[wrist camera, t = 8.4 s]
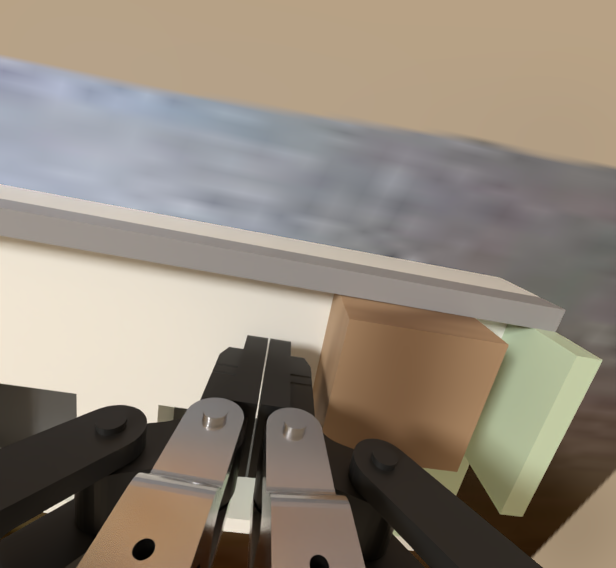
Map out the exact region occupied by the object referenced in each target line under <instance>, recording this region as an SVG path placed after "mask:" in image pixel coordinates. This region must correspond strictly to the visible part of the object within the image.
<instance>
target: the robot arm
mask: <svg viewBox="0 0 616 568" xmlns="http://www.w3.org/2000/svg"><path fill="white" fill-rule="evenodd" d="M267 344H268V338H264V337H258V336H251V335H247V338H246V342H245V345H244V349H240V348H234V347H228V348H227V349H226V350H224V351H223V352H221V353H220V354H219V356H218V359H217V361H216V364H215V366H214V368H213V371H212V373H211V375H210V378H209V380H208V383H207V385H206V387H205V390H204V392H203V394H202V397H201V399H200V400H199V401H197V402H195V403H194V404H192V405H191V406H190V407H189V408H188V409H187V411H186V412H185V414H184V416H183V417H181V418H178V419H175V420H171V421H165V422H156V423H147V418H146V416H145V414H144V413H143V412H142V411H141V410H139V409H137V408H135V407H132V406H127V405H112V406H107V407H102V408H99V409H97V410H94V411H92V412H89V413H87V414H84V415H82V416H79V417H77V418H74V419H72V420H69V421H67V422H64V423H62V424H59V425H57V426H54V427H52V428H49V429H47V430H45V431H42V432H40V433H37V434H35V435H32V436H30V437H27V438H25V439H22V440H20V441H17V442H15V443H12V444H10V445H7V446H5V447H2V448H0V539H1V538H2V537H3V536H4V535H5V534H7V533H8V532H9V531H11V530H12V529H14V528H15V527H17V526H19V525H21V524H23V523H24V522H26V521H28V520H30V519H31V518H33V517H35V516H37V515H38V514H40V513H42V512H44V511H46V510H47V509H49V508H51V507H53V506H54V505H56V504H58V503H60V502H62V501H63V500H65V499H67V498H69V497H70V496H72V495H74V499H72V500H70V501H69V502H67V503H65V504H63V505H62V506H60V507H58V508H56V509H55V510H53V511H51V512H49V513H48V514H46V515H44V516H42V517H41V518H39V519H37V520H35V521H34V522H32V523H30V524H28V525H27V526H25V527H23V528H21V529H20V530H18V531H16V532H14V533H13V534H11V535H9V536H7V537H6V538H4V539H2V540H0V568H213V564H214V561H215V557H216V554H217V550H218V546H219V543H220V539H221V536H222V532H223V529H224V525H225V521H226V518H227V514H228V511H229V507H230V502H231V498H232V496H233V494H234V492H235V488H236V483H237V477H245V475H246V470H247V464H248V458H249V452H250V447H251V441H252V435H253V429H254V423H255V418H256V412H257V406H258V400H259V394H260V388H261V381H262V375H263V369H264V363H265V357H266V351H267ZM311 377H312V376H311V367H310V365H309V364H308V363H307V361H306V360H305V359H304V358H301V357H294V356H291V341H284V340H278V339H271V338H270V343H269V349H268V354H267V360H266V366H265V372H264V377H263V383H262V389H261V395H260V402H259V408H258V415H257V421H256V427H255V434H254V440H253V447H252V453H251V460H250V466H249V472H248V478H256V479H255V486H254V493H253V499H252V504H251V513H250V533H249V552H248V568H425V567H424V566H423V565H422V564H421V563H420V562H419V561H418V560H417V559H416V558H415V557H414V556H413V555H412V554H411V553H410V552H409V551H408V549H407V548H406V547H405V546H404V545H403V544H402V543H401V542H400V541H399V540H398V539H397V538H396V537H395V536H394V535H393V531H394V530H395V531H396V532H397V533H398V534H399V535H400V536H401V537H402V538H403V539H404V540H405V541H406V542H407V543H408V544H409V546H410V547H411V548H412V549H413V550H414V551H415V552H416V553H417V554H418V555H419V556H420V557H421V558H422V559H423V560H424V561H425V562H426V563H427V564H428V565H429V566H430V567H431V568H542V567H541V566H540V565H539V564H538V563H536V562H535V561H534V560H533V559H532V558H530V557H529V556H528V555H527V554H526V553H524V552H523V551H522V550H521V549H520V548H518V547H517V546H516V545H515V544H514V543H512V542H511V541H510V540H509V539H507V538H506V537H505V536H504V535H503V534H501V533H500V532H499V531H498V530H497V529H495V528H494V527H493V526H492V525H491V524H489V523H488V522H487V521H486V520H485V519H483V518H482V517H481V516H480V515H479V514H477V513H476V512H475V511H474V510H473V509H471V508H470V507H469V506H468V505H466V504H465V503H464V502H463V501H462V500H460V499H459V498H458V497H457V496H456V495H454V494H453V493H452V492H451V491H450V490H448V489H447V488H446V487H445V486H444V485H442V484H441V483H440V482H439V481H438V480H436V479H435V478H434V477H433V476H431V475H430V474H429V473H428V472H427V471H425V470H424V469H423V468H422V467H421V466H419V465H418V464H417V463H416V462H415V461H413V460H412V459H411V458H410V457H409V456H407V455H406V454H405V453H404V452H403V451H401V450H400V449H399V448H397V447H396V446H394V445H393V444H391V443H389V442H387V441H384V440H380V439H373V438H372V439H364V440H362V441H360V442H359V443H358V444H357V445H356V446H355V448H354V449H352V448H350V447H347V446H344V445H342V444H339V443H337V442H335V441H333V440H331V439H330V438H328V437H327V436H326V435H325V434H324V433H323V431H322V427H321V424H320V423H319V421H318V420H317V419H316V418H315V411H314V399H313V387H312V379H311Z"/></svg>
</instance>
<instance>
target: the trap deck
mask: <svg viewBox="0 0 616 568" xmlns="http://www.w3.org/2000/svg"><path fill="white" fill-rule="evenodd" d="M334 294H339V295H345V296H351V297H357V298H362V299H368V300H374V301H380V302H385V303H391V304H397V305H403V306H408V307H414V308H420V309H426V310H432V311H437V312H443V313H449V314H455V315H460V316H466V317H472V318H476V319H477V320H478V321H480V322H481V323H482V324H483V325H485V326H486V327H487V328H488V329H490V330H491V331H492V332H493V333H495V334H496V335H497V336H499V337H500V338H501V339H502V340H504V341H505V342H506V343H507V344H509V346H508V348H507V351H506V353H505V356H504V358H503V361H502V363H501V365H500V368H499V370H498V373H497V375H496V378H495V380H494V383H493V385H492V388H491V390H490V393H489V395H488V397H487V400H486V402H485V405H484V407H483V410H482V412H481V415H480V417H479V420H478V422H477V425H476V427H475V429H474V432H473V434H472V437H471V439H470V442H469V444H468V447H467V449H466V452H465V454H464V457H463V459H462V461H461V464H460V466H459V469H458V471H457V472H453V471H445V470H437V469H429V468H423V469H424V470H425V471H427V472H428V473H429V474H430V475H431V476H433V477H434V478H435V479H436V480H438V481H439V482H440V483H441V484H442V485H444V486H445V487H446V488H447V489H448V490H450V491H451V492H452V493H453V494H454V495H457V492H458V490H459V488H460V485H461V483H462V481H463V478H464V476H465V474H466V471H467V469H468V467H469V464H470V466H471V467H472V469H473V470H474V472H475V474H476V475H477V477H478V479H479V480H480V482H481V484H482V485H483V487H484V489H485V490H486V492H487V494H488V495H489V497H490V498H491V500H492V502H493V503H494V505H495V507H496V508H497V510H498V512H499V513H500V514H502V515H511V516H519V517H522V516H523V515H524V513H525V511H526V509H527V507H528V505H529V503H530V501H531V499H532V497H533V495H534V493H535V491H536V489H537V487H538V485H539V483H540V481H541V479H542V477H543V476H544V474H545V472H546V470H547V468H548V466H549V464H550V462H551V460H552V458H553V456H554V454H555V452H556V450H557V448H558V446H559V444H560V442H561V440H562V438H563V436H564V435H565V433H566V431H567V429H568V427H569V425H570V423H571V421H572V419H573V417H574V415H575V413H576V411H577V409H578V407H579V405H580V403H581V401H582V399H583V397H584V396H585V394H586V392H587V390H588V388H589V386H590V384H591V382H592V380H593V378H594V376H595V374H596V372H597V370H598V368H599V366H600V364H601V362H602V359H600V358H598V357H596V356H595V355H593V354H591V353H590V352H588V351H586V350H585V349H583V348H581V347H580V346H578V345H576V344H575V343H573V342H571V341H570V340H568V339H566V338H565V337H563V336H561V335H560V334H558V333H556V330H557V328H558V326H559V324H560V321H561V319H562V317H563V315H564V313H565V309H563V308H561V307H559V306H557V305H554V304H552V303H550V302H548V301H546V300H544V299H542V298H540V297H538V296H536V295H534V294H532V293H530V292H528V291H526V290H524V289H522V288H520V287H518V286H516V285H514V284H512V283H510V282H508V281H506V280H504V279H502V278H500V277H495V276H489V275H484V274H479V273H473V272H468V271H463V270H457V269H452V268H447V267H441V266H436V265H430V264H425V263H420V262H414V261H409V260H404V259H398V258H393V257H388V256H382V255H377V254H372V253H366V252H361V251H356V250H350V249H345V248H340V247H334V246H329V245H324V244H318V243H313V242H307V241H302V240H297V239H291V238H286V237H281V236H275V235H270V234H265V233H259V232H254V231H249V230H243V229H238V228H233V227H227V226H222V225H217V224H211V223H206V222H201V221H195V220H190V219H184V218H179V217H174V216H168V215H163V214H158V213H152V212H147V211H142V210H136V209H131V208H126V207H120V206H115V205H110V204H104V203H99V202H94V201H88V200H83V199H78V198H72V197H67V196H61V195H56V194H51V193H45V192H40V191H35V190H29V189H24V188H19V187H13V186H8V185H3V184H0V448H2V447H5V446H7V445H10V444H12V443H15V442H17V441H20V440H22V439H25V438H27V437H30V436H32V435H35V434H37V433H40V432H42V431H45V430H47V429H49V428H52V427H54V426H57V425H59V424H62V423H64V422H67V421H69V420H72V419H74V418H77V417H79V416H82V415H84V414H87V413H89V412H92V411H94V410H97V409H99V408H102V407H107V406H112V405H127V406H132V407H135V408H137V409H139V410H141V411H142V412H143V413H144V414H145V416H146V418H147V423H156V422H165V421H171V420H175V419H178V418H181V417H183V416H184V414H185V412H186V411H187V409H188V408H189V407H190V406H191V405H192V404H194V403H195V402H197V401H199V400H200V399H201V397H202V394H203V392H204V390H205V387H206V385H207V383H208V380H209V378H210V375H211V373H212V371H213V368H214V366H215V364H216V361H217V359H218V356H219V354H220V353H221V352H223V351H224V350H226V349H227V348H228V347H234V348H240V349H244V345H245V342H246V338H247V335H251V336H258V337H264V338H268V344H267V351H266V357H265V363H264V369H263V375H262V381H261V388H260V394H259V400H258V406H257V412H256V418H255V423H254V429H253V435H252V441H251V447H250V452H249V458H248V464H247V470H246V475H245V477H237V483H236V488H235V492H234V494H233V496H232V498H231V502H230V507H229V511H228V514H227V518H226V521H225V525H224V529H223V531H228V532H238V533H248V534H249V533H250V513H251V504H252V499H253V493H254V486H255V479H256V478H248V472H249V466H250V460H251V453H252V447H253V440H254V434H255V427H256V421H257V415H258V408H259V402H260V395H261V389H262V383H263V377H264V372H265V366H266V360H267V354H268V349H269V343H270V338H271V339H278V340H284V341H291V356H294V357H301V358H304V359H305V360H306V361H307V363H308V364H309V365H310V367H311V376H312V377H311V379H312V387H313V386H314V381H315V377H316V372H317V368H318V363H319V359H320V354H321V350H322V345H323V341H324V336H325V332H326V327H327V323H328V318H329V314H330V309H331V305H332V300H333V296H334ZM72 499H74V495H72V496H70V497H69V498H67V499H65V500H63V501H62V502H60V503H58V504H56V505H54V506H53V507H51V508H49V509H47V510H46V511H44V513H49V512H51V511H53V510H55V509H56V508H58V507H60V506H62V505H63V504H65V503H67V502H69V501H70V500H72ZM393 535H394V536H395V537H396V538H397V539H398V540H399V541H400V542H401V543H402V544H403V545H404V546H405V547H406V548H407V549H408V550H412V551H414V550H413V549H412V548H411V547H410V546H409V544H408V543H407V542H406V541H405V540H404V539H403V538H402V537H401V536H400V535H399V534H398V533H397V532H396V531H395V530H394V531H393Z"/></svg>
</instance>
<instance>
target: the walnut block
mask: <svg viewBox="0 0 616 568" xmlns="http://www.w3.org/2000/svg"><path fill="white" fill-rule="evenodd" d="M508 346H509V344H507V343H506V342H505V341H504V340H502V339H501V338H500V337H499V336H497V335H496V334H495V333H493V332H492V331H491V330H490V329H488V328H487V327H486V326H485V325H483V324H482V323H481V322H480V321H478V320H477V319H476V318H472V317H466V316H460V315H455V314H449V313H443V312H437V311H432V310H426V309H420V308H414V307H408V306H403V305H397V304H391V303H385V302H380V301H374V300H368V299H362V298H357V297H351V296H345V295H339V294H334V296H333V300H332V305H331V309H330V314H329V318H328V323H327V327H326V332H325V336H324V341H323V345H322V350H321V354H320V359H319V363H318V368H317V372H316V377H315V381H314V386H313V399H314V411H315V418H316V419H317V420H318V421H319V423H320V424H321V427H322V431H323V433H324V434H325V435H326V436H327V437H328V438H330V439H331V440H333V441H335V442H337V443H339V444H342V445H344V446H347V447H350V448H352V449H354V448H355V446H356V445H357V444H358V443H359V442H360V441H362V440H364V439H372V438H373V439H380V440H384V441H387V442H389V443H391V444H393V445H394V446H396V447H397V448H399V449H400V450H401V451H403V452H404V453H405V454H406V455H407V456H409V457H410V458H411V459H412V460H413V461H415V462H416V463H417V464H418V465H419V466H421V467H422V468H429V469H437V470H445V471H453V472H457V471H458V469H459V466H460V464H461V461H462V459H463V457H464V454H465V452H466V449H467V447H468V444H469V442H470V439H471V437H472V434H473V432H474V429H475V427H476V425H477V422H478V420H479V417H480V415H481V412H482V410H483V407H484V405H485V402H486V400H487V397H488V395H489V393H490V390H491V388H492V385H493V383H494V380H495V378H496V375H497V373H498V370H499V368H500V365H501V363H502V361H503V358H504V356H505V353H506V351H507V348H508Z"/></svg>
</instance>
